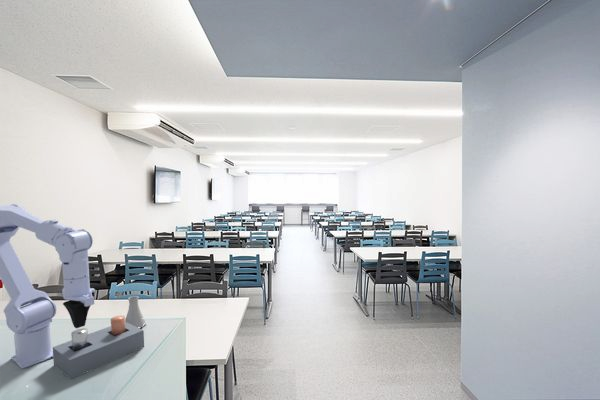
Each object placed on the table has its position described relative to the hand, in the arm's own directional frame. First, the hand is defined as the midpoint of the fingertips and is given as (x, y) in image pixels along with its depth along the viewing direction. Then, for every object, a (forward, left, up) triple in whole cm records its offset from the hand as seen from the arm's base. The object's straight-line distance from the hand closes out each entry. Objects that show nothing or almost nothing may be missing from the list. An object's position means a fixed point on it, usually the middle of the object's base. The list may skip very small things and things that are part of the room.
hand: (79, 326), depth 88 cm
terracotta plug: (0, +10, -6) cm, 12 cm away
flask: (-10, +20, -11) cm, 25 cm away
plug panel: (0, +5, -10) cm, 11 cm away
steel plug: (0, 0, -6) cm, 6 cm away
